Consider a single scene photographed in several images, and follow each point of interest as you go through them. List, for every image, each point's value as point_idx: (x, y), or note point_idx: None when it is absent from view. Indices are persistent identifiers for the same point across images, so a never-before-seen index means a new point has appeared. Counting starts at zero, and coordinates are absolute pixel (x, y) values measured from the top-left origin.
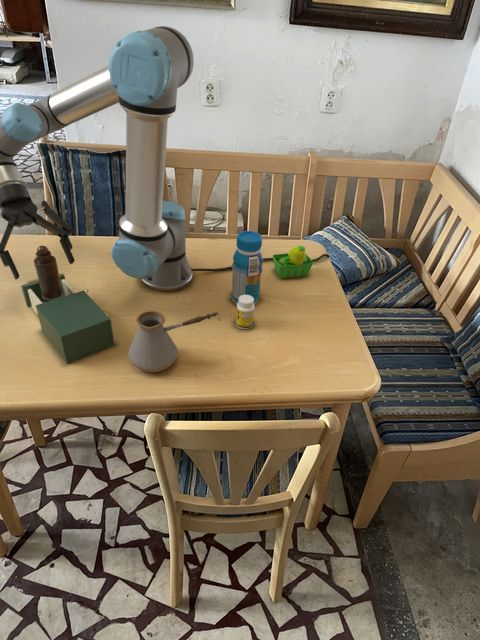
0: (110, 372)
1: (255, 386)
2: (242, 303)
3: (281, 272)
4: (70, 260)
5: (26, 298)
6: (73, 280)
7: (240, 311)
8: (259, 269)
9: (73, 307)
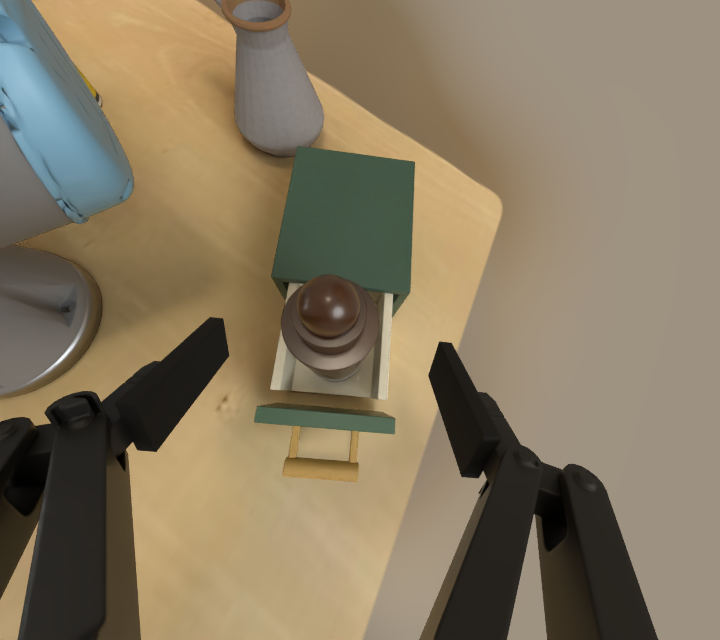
0: None
1: (214, 26)
2: None
3: None
4: (221, 336)
5: (385, 414)
6: (215, 480)
7: None
8: None
9: (338, 228)
